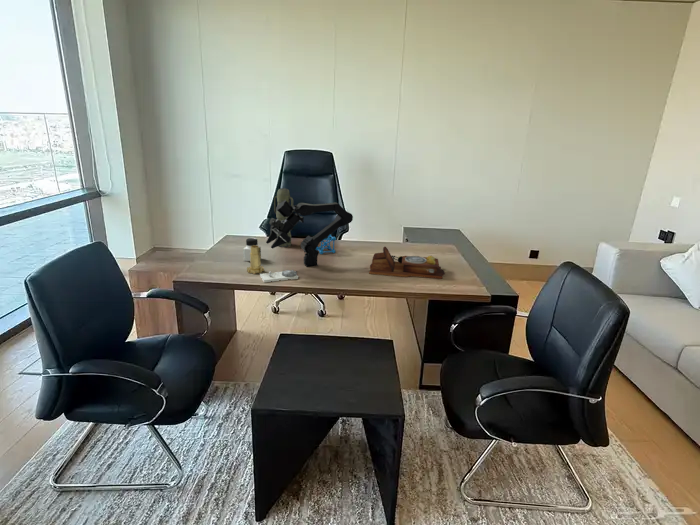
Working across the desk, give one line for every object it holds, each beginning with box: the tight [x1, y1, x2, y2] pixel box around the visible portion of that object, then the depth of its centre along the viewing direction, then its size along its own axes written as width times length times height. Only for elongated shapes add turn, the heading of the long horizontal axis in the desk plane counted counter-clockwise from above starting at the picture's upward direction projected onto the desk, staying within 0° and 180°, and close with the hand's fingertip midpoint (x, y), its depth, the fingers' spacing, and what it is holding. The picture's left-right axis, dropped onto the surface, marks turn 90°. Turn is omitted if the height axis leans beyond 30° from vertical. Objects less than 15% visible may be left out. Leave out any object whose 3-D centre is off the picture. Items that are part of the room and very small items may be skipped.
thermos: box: [273, 187, 294, 248], centre depth 254 cm, size 9×12×35 cm
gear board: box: [259, 269, 299, 283], centre depth 205 cm, size 17×9×4 cm, turn 113°
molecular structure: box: [316, 234, 337, 255], centre depth 248 cm, size 10×10×10 cm
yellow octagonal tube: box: [246, 245, 265, 275], centre depth 211 cm, size 8×8×13 cm
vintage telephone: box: [368, 246, 446, 280], centre depth 223 cm, size 24×12×40 cm
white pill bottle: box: [243, 237, 262, 262], centre depth 228 cm, size 7×7×12 cm
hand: (269, 245), depth 212 cm, fingers open, 9 cm apart
